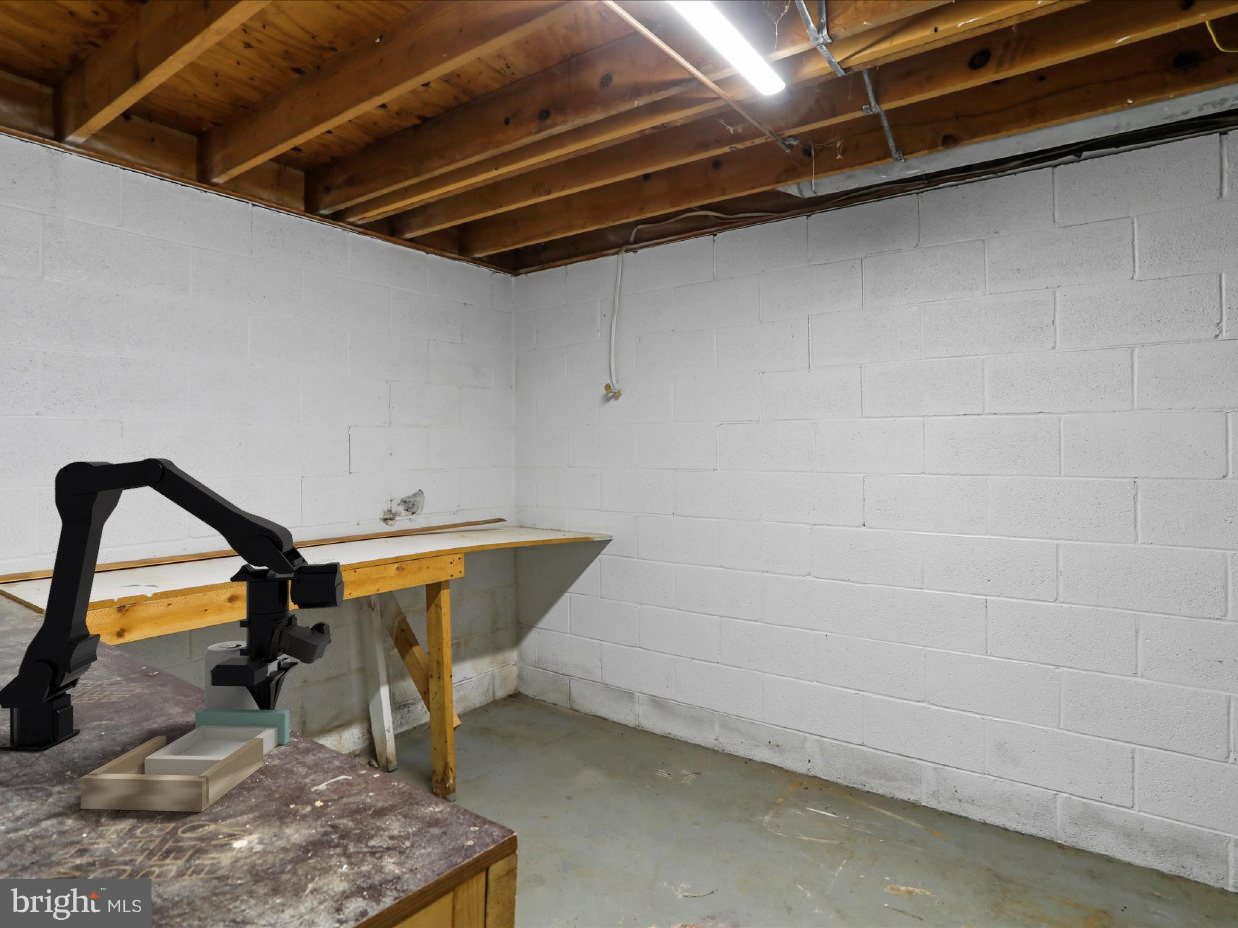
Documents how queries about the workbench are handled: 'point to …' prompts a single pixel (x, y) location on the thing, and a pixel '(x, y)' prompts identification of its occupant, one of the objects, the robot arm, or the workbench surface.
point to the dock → (165, 781)
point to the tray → (218, 739)
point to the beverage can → (225, 694)
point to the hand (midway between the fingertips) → (268, 715)
